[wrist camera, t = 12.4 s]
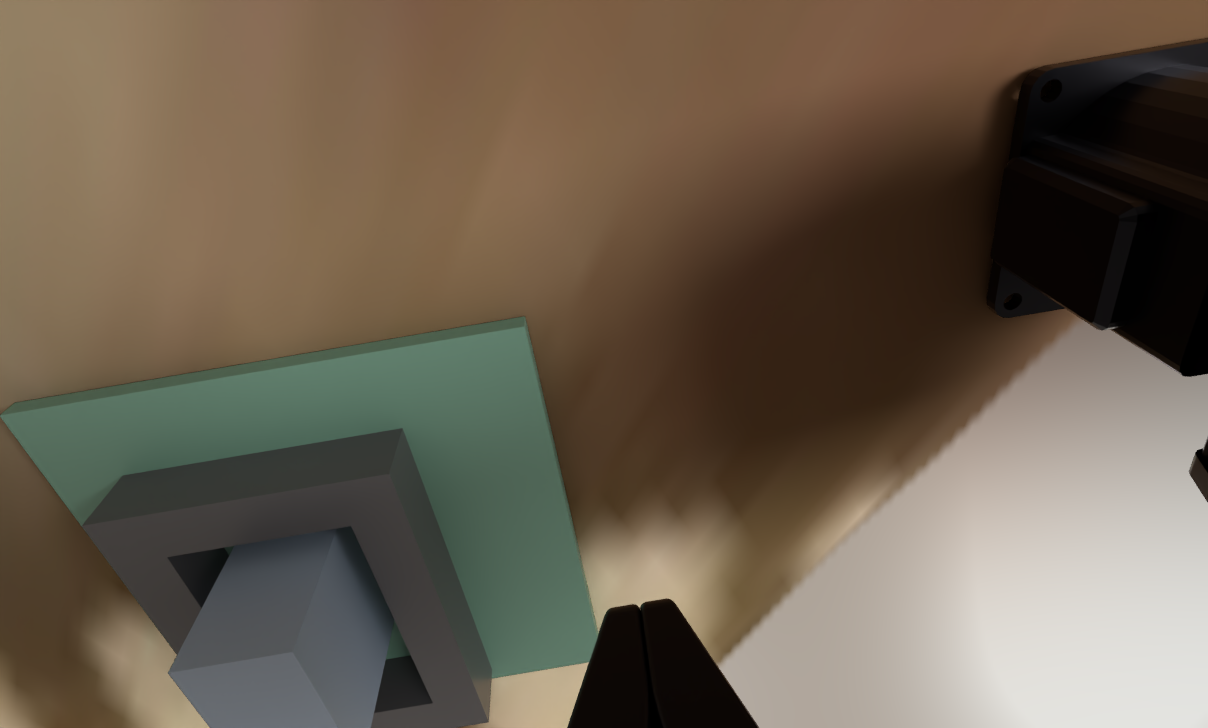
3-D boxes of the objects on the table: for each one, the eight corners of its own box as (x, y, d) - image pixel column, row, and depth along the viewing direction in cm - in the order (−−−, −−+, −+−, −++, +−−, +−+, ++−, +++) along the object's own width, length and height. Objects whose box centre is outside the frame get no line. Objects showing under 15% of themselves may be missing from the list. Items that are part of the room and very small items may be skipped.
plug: (344, 506, 20) (292, 652, 16) (403, 635, 23) (373, 786, 19) (245, 523, 20) (167, 673, 16) (318, 649, 23) (268, 803, 19)
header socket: (402, 428, 19) (389, 473, 17) (492, 669, 25) (488, 722, 23) (122, 475, 19) (81, 526, 17) (275, 705, 25) (256, 761, 23)
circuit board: (525, 316, 18) (524, 326, 18) (601, 646, 25) (602, 659, 25) (14, 402, 18) (-1, 415, 18) (233, 707, 26) (227, 722, 25)
